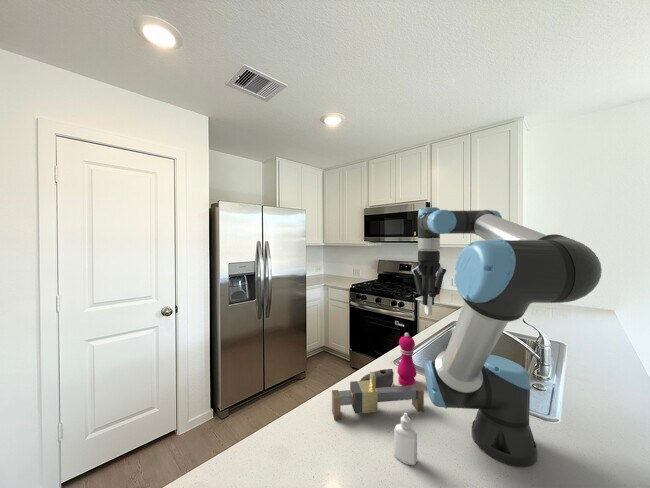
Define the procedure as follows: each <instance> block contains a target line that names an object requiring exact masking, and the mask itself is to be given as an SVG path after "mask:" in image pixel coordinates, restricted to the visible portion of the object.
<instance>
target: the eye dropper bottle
mask: <svg viewBox="0 0 650 488" xmlns="http://www.w3.org/2000/svg"><path fill="white" fill-rule="evenodd" d="M393 436H394V437H393V455H394V458H396V460H398V461H399V462H401V463H403V464H405V465H409V466H416V463H417V461H418V433H417V431H416V430H415V429H414V428H413V427H411V418H410V417H409V416H408V413H407V412H404V413H403V415H401V417H400V423H397V424H396V425H395V427H394V434H393Z"/></svg>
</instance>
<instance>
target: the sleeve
mask: <svg viewBox="0 0 650 488" xmlns="http://www.w3.org/2000/svg"><path fill="white" fill-rule="evenodd" d="M374 372H375V371H369V374H370V380H366V381H360V380H356V381H357V382H358V384H359V386H360V388H361V391H362V413H361V414H368V413H377V412H379V411H378V410H379V409H378V407H379V406H378V404H379V402H378V391H377V389H376V375H375V374H374Z"/></svg>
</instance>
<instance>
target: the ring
mask: <svg viewBox="0 0 650 488" xmlns="http://www.w3.org/2000/svg"><path fill="white" fill-rule="evenodd" d="M357 381H358V380H356V381H354V380H353V381H350V382H349V390H350V389H352V391H353V393H354V406H352V405H351V407H352V409H353V412H354V414H355V415H356V414H357V415H358V414H363V413H362V391H361V388H360V386H359V384H358V382H357Z"/></svg>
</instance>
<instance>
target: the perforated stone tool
mask: <svg viewBox="0 0 650 488" xmlns="http://www.w3.org/2000/svg"><path fill="white" fill-rule="evenodd" d="M373 372H374V374H375V375H376V388H382V387H393V383H394V370H393V368H388V369H386V368H385V369H379V370H375V371H373ZM366 380H370V373H368V374H366V375H364V376H363V377H361V378H360V380H359V381H366Z"/></svg>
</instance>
